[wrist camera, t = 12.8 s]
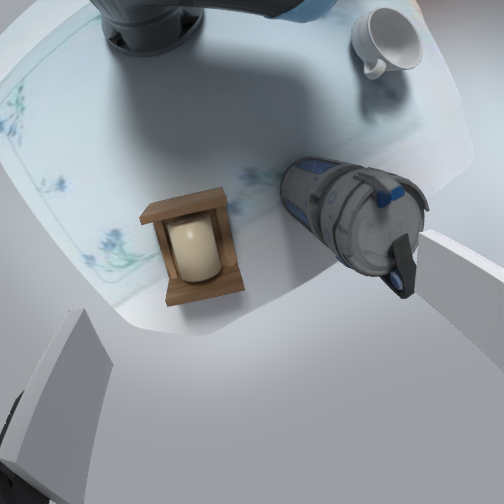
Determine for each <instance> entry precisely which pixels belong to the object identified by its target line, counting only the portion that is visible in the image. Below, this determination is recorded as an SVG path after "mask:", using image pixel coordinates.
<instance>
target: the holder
mask: <svg viewBox="0 0 504 504" xmlns="http://www.w3.org/2000/svg"><path fill="white" fill-rule="evenodd" d="M226 205H228V204H227V199H226V196H225V193H224V191H223V189H222V187H220V188H215V189H211V190H206V191H201V192H197V193H193V194H188V195H184V196H180V197H175V198H171V199H167V200H163V201H159V202H155V203H151V204H149V205H148V207H147V208H146V209H145V211H144V212H143V213H142V215H141V216H140V217H139V218H140V222H141V225H144V224H148V223H152V222H153V224H154V227H155V231H156V235H157V238H158V242H159V245H160V249H161V252H162V255H163V259H164V262H165V265H166V269H167V272H168V275H169V283H168V289H167V294H166V300H165V301H166V304H167V307H169V306H174V305H179V304H184V303H188V302H193V301H198V300H203V299H207V298H212V297H217V296H221V295H226V294H230V293H235V292H239V291H244V290H245V288H244V284H243V280H242V277H241V274H240V270H239V267H238V264H237V259H236V254H235V249H234V244H233V240H232V235H231V230H230V225H229V220H228V215H227V210H226ZM196 212H207V213H209V215H210V219H211V224H212V229H213V233H214V238H215V242H216V247H217V251H218V255H219V260H220V264H221V270H220V272H219V273H218V274H216V275H215V276H213V277H211V278H209V279H206V280H202V281H196V282H189V281H185V280H183V279H182V278H181V274H180V271H179V267H178V264H177V260H176V257H175V253H174V250H173V246H172V242H171V239H170V235H169V231H168V227H167V223H168V222H169V221H171V220H173V219H175V218H177V217H180V216H183V215H186V214H190V213H196Z"/></svg>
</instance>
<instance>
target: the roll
mask: <svg viewBox="0 0 504 504" xmlns="http://www.w3.org/2000/svg"><path fill="white" fill-rule="evenodd" d="M167 227H168V231H169V235H170V239H171V242H172V246H173V250H174V253H175V257H176V260H177V264H178V267H179V271H180V274H181V278H182V279H183V280H185V281H189V282H196V281H202V280H206V279H209V278H211V277H213V276H215V275H216V274H218V273H219V272H220V270H221V264H220V260H219V255H218V251H217V247H216V242H215V238H214V233H213V229H212V224H211V219H210V215H209V213H207V212H196V213H190V214H186V215H183V216H180V217H177V218H175V219H173V220H171V221H169V222H168V223H167Z"/></svg>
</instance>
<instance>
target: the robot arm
mask: <svg viewBox="0 0 504 504" xmlns="http://www.w3.org/2000/svg"><path fill="white" fill-rule="evenodd" d="M90 1H91V2H92V3H93V4H94V5H95V7H96V8H97V9H98V10H99V11H100V12H101V13H102V17H101V24H102V30H103V33H104V35H105V37H106V39H107V40H108V41H109V42H110V43H111V44H112V45H113V46H114V47H115V48H116V49H117V50H119V51H120V52H122V53H125V54H128V55H131V56H138V57H147V56H155V55H159V54H163V53H165V52H168V51H170V50H172V49H174V48H176V47H178V46H180V45H181V44H183V43H184V42H185V41H186V40H188V39H189V38H190V37H191V36H192V35H193V33H194V32H195V31H196V29H197V28H198V26H199V24H200V22H201V20H202V16H203V8H211V9H220V10H229V11H236V12H243V13H249V14H255V15H261V16H264V17H265V18H267V19H281V20H287V21H292V22H297V23H306V22H310V21H314V20H316V19H318V18H320V17H322V16H323V15H324V14H326V13H327V12H328V11H329V10H330V9H331V8H332V7H333V6H334V5H335V4H336V3H337V1H338V0H90ZM414 292H416V293H417V294H418V295H419V296H420V297H422V298H423V299H424V300H425V301H426V302H427V303H429V304H430V305H431V306H432V307H433V308H435V309H436V310H437V311H438V312H439V313H440V314H442V315H443V316H444V317H445V318H446V319H447V320H449V321H450V322H451V323H452V324H453V325H454V326H455V327H456V328H457V329H458V330H460V331H461V332H462V333H463V334H464V335H465V336H466V337H467V338H468V339H470V340H471V341H472V342H473V343H474V344H475V345H476V346H477V347H478V348H479V349H480V350H481V351H482V352H483V353H484V354H486V355H487V356H488V357H489V358H490V359H491V360H492V361H493V362H494V363H495V364H496V365H497V366H498V367H499V368H500V369H501V370H502V371H503V372H504V269H503V268H501V267H500V266H498V265H496V264H495V263H493V262H491V261H489V260H487V259H486V258H484V257H482V256H481V255H479V254H477V253H475V252H474V251H472V250H470V249H468V248H466V247H464V246H463V245H461V244H459V243H457V242H455V241H453V240H451V239H450V238H448V237H446V236H444V235H442V234H440V233H438V232H436V231H434V230H432V229H431V230H428V231H424V232H420V233H419V240H418V257H417V268H416V278H415V288H414ZM112 367H113V363H112V361H111V359H110V358H109V356H108V354H107V352H106V351H105V349H104V347H103V345H102V343H101V341H100V339H99V337H98V335H97V333H96V332H95V329H94V328H93V325H92V323H91V321H90V319H89V317H88V315H87V313H86V311H85V309H79V310H74V311H68V313H67V315H66V316H65V318H64V319H63V321H62V323H61V324H60V326H59V328H58V329H57V331H56V333H55V334H54V336H53V338H52V340H51V341H50V343H49V345H48V347H47V349H46V350H45V352H44V354H43V356H42V358H41V359H40V361H39V363H38V365H37V367H36V369H35V371H34V373H33V375H32V377H31V378H30V380H29V382H28V384H27V386H26V389H25V390H24V391H23V392H22V393H21V394H20V395H19V397H18V398H17V399H16V400H15V402H14V405H13V407H12V409H11V411H10V413H11V414H9V416H8V418H7V420H6V424H5V425H4V427H3V430H2V432H1V434H0V504H49V500H52V501H53V502H55V503H56V504H84V496H85V489H86V483H87V476H88V470H89V465H90V459H91V454H92V448H93V444H94V438H95V434H96V430H97V425H98V421H99V416H100V412H101V408H102V404H103V400H104V396H105V392H106V389H107V385H108V381H109V377H110V374H111V370H112Z"/></svg>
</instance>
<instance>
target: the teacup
mask: <svg viewBox="0 0 504 504" xmlns="http://www.w3.org/2000/svg"><path fill="white" fill-rule="evenodd" d="M351 40H352V44H353V47H354V49H355V51H356V53H357V55H358V56H359V57H360V58H361V60H362V61H364V74H365V75H366V76H367V77H368V78H369V79H372V80H374V79H377V78H379V77H380V76H381V75H382V74H383V73H384V71H397V70H403V69H404V70H409V69H412V68H415V67H416V66H417V65H418V64H419V63H420V61H421V58H422V53H423V49H422V42H421V39H420V36H419V34H418V32H417V30H416V28H415V27H414V25H413V24H412V23H411V21H410V20H409V19H408V18H407V17H406V16H405V15H403V14H402V13H401V12H399V11H397V10H395V9H393V8H390V7H379V8H376V9H374V10H373V11H372V12H370V13H368V14H366V15H364V16H363V17H361V18H360V19H358V20H357V21H356V23H355V24H354V26H353V28H352V31H351ZM373 68H374V69H373Z"/></svg>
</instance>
